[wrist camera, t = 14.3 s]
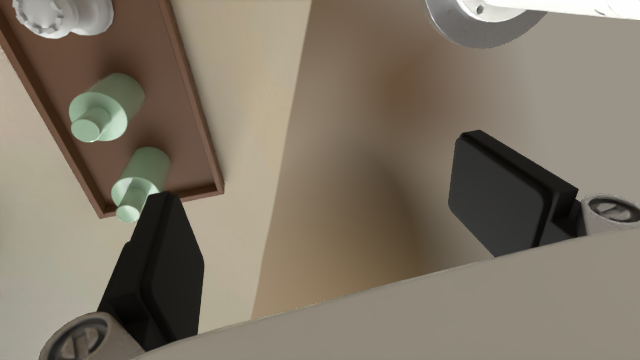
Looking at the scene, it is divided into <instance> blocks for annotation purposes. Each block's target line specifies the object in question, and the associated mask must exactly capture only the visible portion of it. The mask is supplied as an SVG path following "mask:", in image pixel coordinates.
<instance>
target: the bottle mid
mask: <svg viewBox="0 0 640 360" xmlns="http://www.w3.org/2000/svg"><path fill="white" fill-rule="evenodd" d="M144 103H145V94H144V91H143V89H142V87H141V85H140V84H139V83H138V82H137V81H136V80H135V79H133V78H132V77H130V76H128V75H126V74H122V73H111V74H108V75H106V76H104V77H102V78H101V79H100V80H98V81H97V82H96V83H94V84H93V85H92V86H90V87H89V88H87V89H86V90H85V91H83V92H82V93H81V94H79V95H78V96H77V97H75V98H74V99H73V100H72V102H71V104H70V107H69V116H70V119H71V121H72V125H71V131H72V133H73V135H74V136H75V137H76V138H77V139H79V140H81V141H83V142H94V141H96V140H99V141H110V140H114V139H117V138H118V137H120V136H121V135H122V134H123V133H124V132H125V131H126V129H127V128H128V126H129V125H130V124H131V122H132V121H133V120H134V118H135V117H136V115H137V114H138V113H139V111H140V110H141V109H142V107H143V105H144Z"/></svg>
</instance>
